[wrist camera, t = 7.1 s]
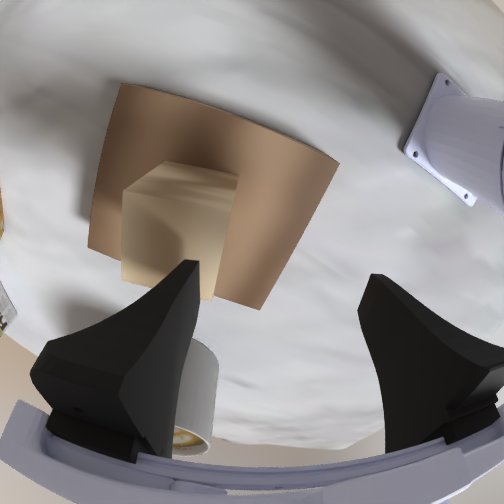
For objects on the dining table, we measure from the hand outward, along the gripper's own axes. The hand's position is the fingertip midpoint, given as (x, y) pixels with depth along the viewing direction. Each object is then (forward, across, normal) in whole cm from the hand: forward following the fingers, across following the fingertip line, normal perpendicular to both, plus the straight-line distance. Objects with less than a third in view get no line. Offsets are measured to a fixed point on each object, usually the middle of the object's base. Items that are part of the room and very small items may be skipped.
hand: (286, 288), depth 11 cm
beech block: (+7, +5, -1) cm, 9 cm away
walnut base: (+10, +5, 0) cm, 11 cm away
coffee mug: (+10, +10, +19) cm, 24 cm away
